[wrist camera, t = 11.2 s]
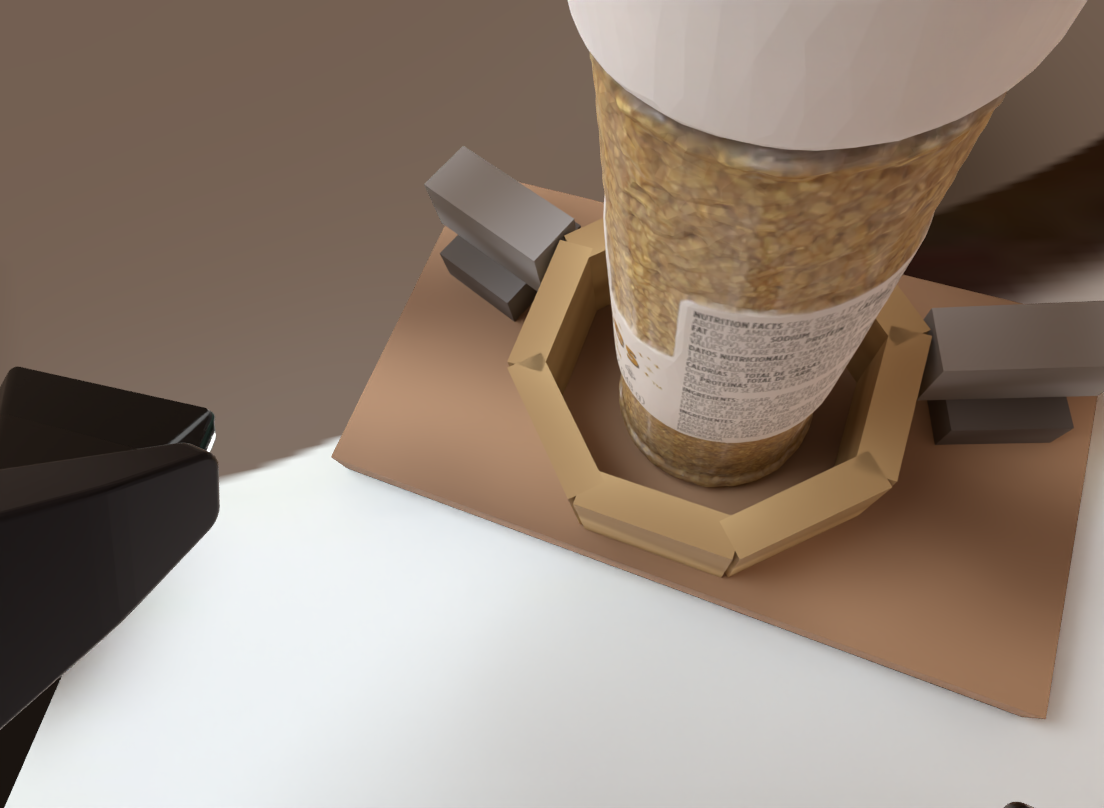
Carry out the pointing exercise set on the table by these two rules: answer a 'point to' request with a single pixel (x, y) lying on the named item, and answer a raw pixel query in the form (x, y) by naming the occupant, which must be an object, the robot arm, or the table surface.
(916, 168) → the sprinkles bottle
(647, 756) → the table surface
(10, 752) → the black angular block
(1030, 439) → the stand
